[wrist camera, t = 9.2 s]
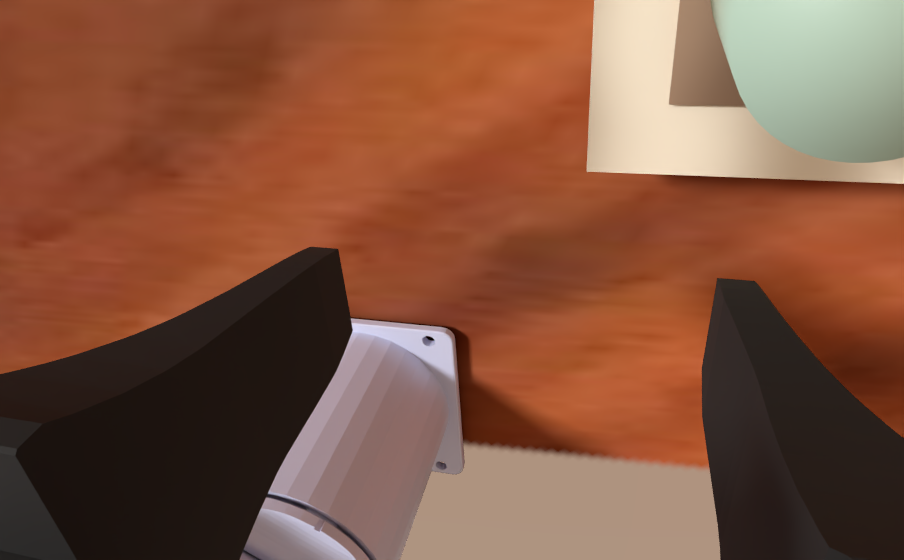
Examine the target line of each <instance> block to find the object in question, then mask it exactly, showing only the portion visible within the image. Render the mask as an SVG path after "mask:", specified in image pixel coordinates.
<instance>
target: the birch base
mask: <svg viewBox="0 0 904 560" xmlns="http://www.w3.org/2000/svg"><path fill="white" fill-rule="evenodd" d="M587 172H612V173H638V174H664V175H690V176H716V177H742V178H768V179H794V180H820V181H845V182H871V183H897V184H904V157H903V158H899V159H894V160H888V161H880V162H872V163H847V162H836V161H830V160H825V159H821V158H816V157H813V156H810V155H807V154H804V153H802V152H799V151H797V150H795V149H793V148H791V147H789V146H787V145H785V144H783V143H782V142H780V141H779V140H777V139H776V138H775V137H773V136H772V135H770V134H769V133H768V132H767V131H766V130H765V129H764V128H763V127H762V126H761V125H760V124H759V123H758V122H757V121H756V120H755V118H754V117H753V116H752V114H751V113H750V112H749V111H748V109H747V107H746V105H745V104H744V102H743V100H742V98H741V96H740V94H739V91H738V89H737V86H736V83H735V80H734V78H733V75H732V72H731V69H730V66H729V63H728V60H727V57H726V54H725V51H724V48H723V45H722V42H721V39H720V36H719V33H718V30H717V27H716V24H715V22H714V18H713V14H712V9H711V0H594V21H593V43H592V65H591V87H590V109H589V132H588V154H587Z"/></svg>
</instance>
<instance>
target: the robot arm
mask: <svg viewBox="0 0 904 560" xmlns="http://www.w3.org/2000/svg"><path fill="white" fill-rule="evenodd" d="M426 336H430V337H432V338H433V339H434V341H431V340H428V339H427V338H426ZM702 417H703V425H704V432H705V439H706V446H707V454H708V460H709V467H710V474H711V481H712V488H713V494H714V501H715V508H716V515H717V522H718V531H719V542H720V554H721V555H720V556H721V560H904V438H902V437H901V436H900V435H899V434H897V433H896V432H895V431H894V430H892V429H891V428H890V427H889V426H888V425H886V424H885V423H884V422H883V421H882V420H881V419H879V418H878V417H877V416H876V415H875V414H874V413H872V412H871V411H870V410H869V409H868V408H867V407H865V406H864V405H863V404H862V403H861V402H860V401H859V400H858V399H856V398H855V397H854V396H853V395H852V394H851V393H850V392H849V391H848V390H847V389H846V388H845V387H844V386H843V385H842V384H841V383H840V382H839V381H838V380H837V379H836V378H835V377H834V376H833V375H832V374H831V373H830V372H829V371H828V370H827V369H826V368H825V367H824V366H823V365H822V363H821V362H820V361H819V360H818V359H817V358H816V357H815V356H814V354H813V353H812V352H811V351H810V350H809V349H808V347H807V346H806V345H805V344H804V343H803V342H802V340H801V339H800V338H799V337H798V336H797V334H796V333H795V332H794V331H793V330H792V328H791V327H790V326H789V325H788V323H787V322H786V321H785V319H784V318H783V317H782V316H781V314H780V313H779V312H778V310H777V309H776V308H775V306H774V305H773V304H772V302H771V301H770V300H769V298H768V297H767V296H766V294H765V293H764V292H763V290H762V289H761V288H760V287H759V285H758V284H757V283H756V282H755V281H746V280H733V279H721V278H717V284H716V290H715V295H714V301H713V307H712V313H711V319H710V324H709V330H708V336H707V342H706V348H705V353H704V359H703V365H702ZM440 461H441V462H440ZM442 462H444V463H442ZM463 467H464V450H463V436H462V423H461V410H460V396H459V383H458V370H457V356H456V343H455V336H454V334H453V333H452V332H451V331H450V330H449V329H447V328H443V327H435V326H425V325H415V324H404V323H394V322H384V321H373V320H363V319H353V318H351V317H350V312H349V306H348V301H347V295H346V290H345V284H344V279H343V273H342V268H341V262H340V257H339V251H338V249H332V248H319V247H309V248H307V249H304V250H302V251H300V252H298V253H296V254H294V255H292V256H290V257H288V258H286V259H284V260H283V261H281V262H279V263H277V264H275V265H273V266H272V267H270V268H268V269H266V270H265V271H263V272H261V273H259V274H257V275H256V276H254V277H252V278H250V279H248V280H247V281H245V282H243V283H241V284H239V285H238V286H236V287H234V288H232V289H230V290H229V291H227V292H225V293H223V294H221V295H219V296H217V297H215V298H213V299H211V300H209V301H207V302H205V303H203V304H201V305H199V306H197V307H195V308H193V309H191V310H189V311H188V312H186V313H183V314H181V315H179V316H177V317H175V318H173V319H170V320H168V321H166V322H164V323H161V324H159V325H157V326H154V327H152V328H149V329H147V330H144V331H142V332H140V333H137V334H135V335H132V336H129V337H127V338H124V339H121V340H118V341H115V342H112V343H109V344H106V345H103V346H100V347H97V348H94V349H92V350H89V351H86V352H83V353H80V354H77V355H73V356H70V357H66V358H63V359H59V360H56V361H52V362H49V363H45V364H41V365H37V366H33V367H29V368H25V369H21V370H17V371H13V372H8V373H4V374H0V560H400V558H401V555H402V552H403V550H404V547H405V544H406V541H407V538H408V535H409V532H410V530H411V527H412V524H413V521H414V519H415V515H416V513H417V510H418V507H419V504H420V502H421V499H422V496H423V493H424V490H425V487H426V484H427V481H428V479H429V476H430V473H431V471H435V472H441V473H448V474H459V473H461V472H462V470H463Z"/></svg>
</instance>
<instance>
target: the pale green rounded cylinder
mask: <svg viewBox="0 0 904 560" xmlns="http://www.w3.org/2000/svg"><path fill="white" fill-rule="evenodd" d="M711 9H712V14H713V18H714V22H715V24H716V27H717V30H718V33H719V36H720V39H721V42H722V45H723V48H724V51H725V54H726V57H727V60H728V63H729V66H730V69H731V72H732V75H733V78H734V80H735V83H736V86H737V89H738V91H739V94H740V96H741V98H742V100H743V102H744V104H745V105H746V107H747V109H748V111H749V112H750V113H751V114H752V116H753V117H754V118H755V120H756V121H757V122H758V123H759V124H760V125H761V126H762V127H763V128H764V129H765V130H766V131H767V132H768V133H769V134H770V135H772V136H773V137H775V138H776V139H777V140H779V141H780V142H782V143H783V144H785V145H787V146H789V147H791V148H793V149H795V150H797V151H799V152H802V153H804V154H807V155H810V156H813V157H816V158H821V159H825V160H830V161H836V162H847V163H872V162H880V161H888V160H894V159H899V158H903V157H904V0H711Z"/></svg>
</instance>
